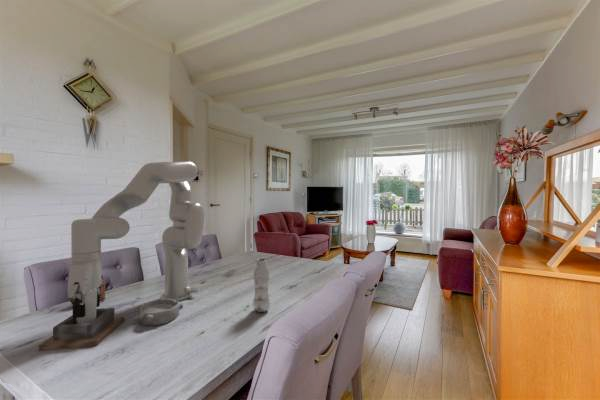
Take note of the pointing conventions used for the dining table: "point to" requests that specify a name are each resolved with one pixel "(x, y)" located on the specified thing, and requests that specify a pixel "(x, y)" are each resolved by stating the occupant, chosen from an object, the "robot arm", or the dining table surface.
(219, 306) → the dining table surface
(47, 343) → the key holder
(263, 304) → the plastic bottle
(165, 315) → the dish
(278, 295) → the dining table surface
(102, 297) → the supplement bottle
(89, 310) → the skincare box
